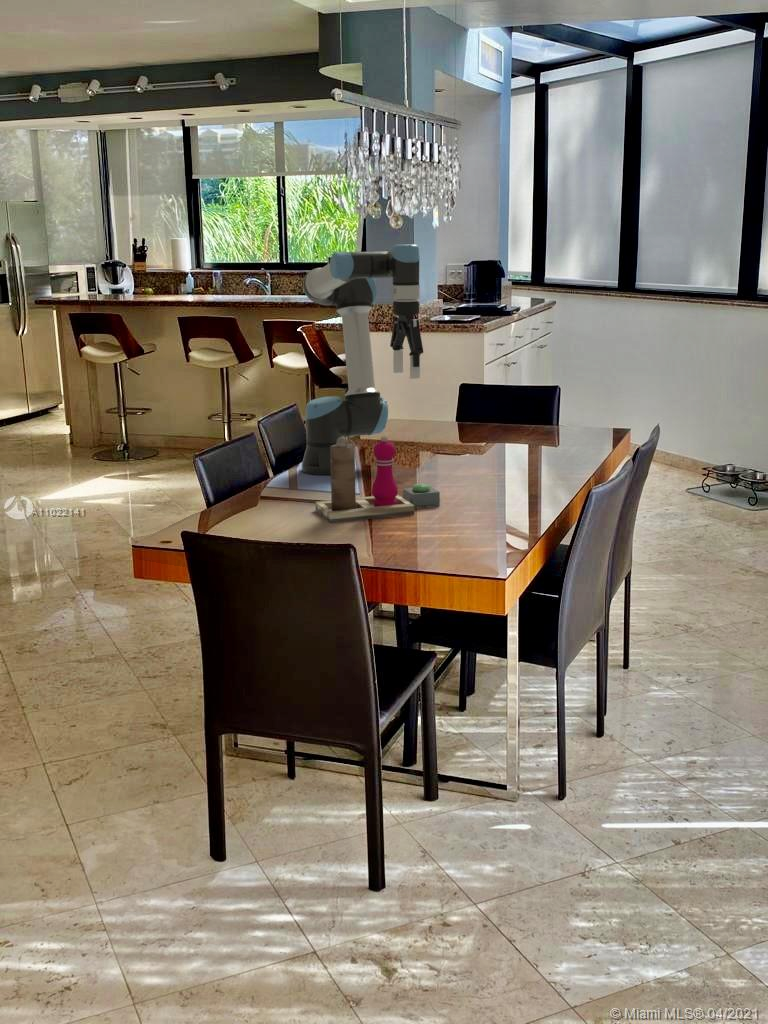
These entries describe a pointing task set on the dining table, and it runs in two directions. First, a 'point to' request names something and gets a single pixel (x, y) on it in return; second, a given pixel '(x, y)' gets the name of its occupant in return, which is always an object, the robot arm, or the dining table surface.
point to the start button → (421, 487)
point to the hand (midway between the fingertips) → (406, 375)
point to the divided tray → (364, 510)
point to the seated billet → (342, 475)
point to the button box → (422, 497)
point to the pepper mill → (384, 474)
